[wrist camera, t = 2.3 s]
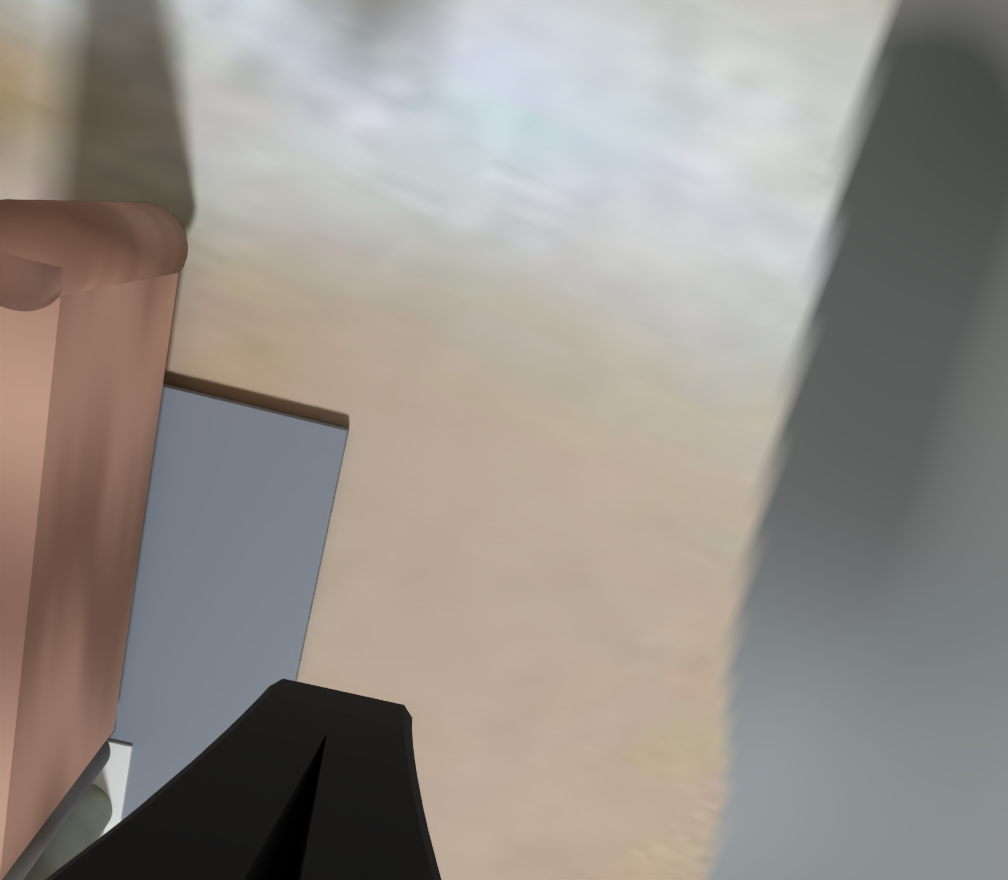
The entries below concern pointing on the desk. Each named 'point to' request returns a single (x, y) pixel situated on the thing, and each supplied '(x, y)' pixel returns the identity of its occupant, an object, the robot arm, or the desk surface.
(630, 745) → the desk surface
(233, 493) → the card
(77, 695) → the wooden block
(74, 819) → the fence fixed
